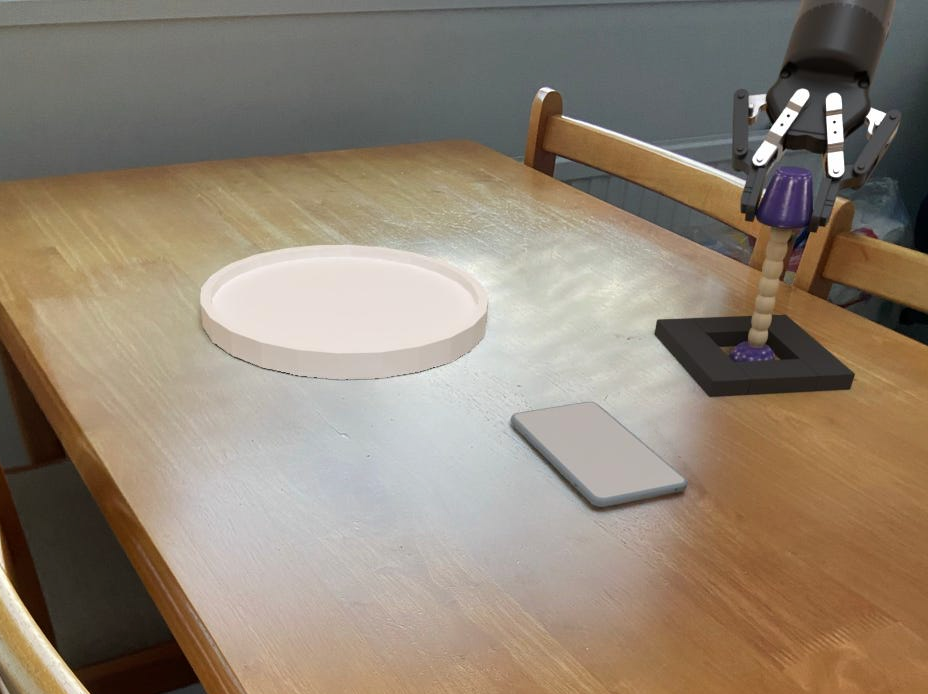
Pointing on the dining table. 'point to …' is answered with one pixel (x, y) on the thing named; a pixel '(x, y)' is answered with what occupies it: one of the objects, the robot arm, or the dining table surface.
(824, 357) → the square frame
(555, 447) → the smartphone
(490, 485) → the dining table surface
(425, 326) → the plate
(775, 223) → the toy lamp
